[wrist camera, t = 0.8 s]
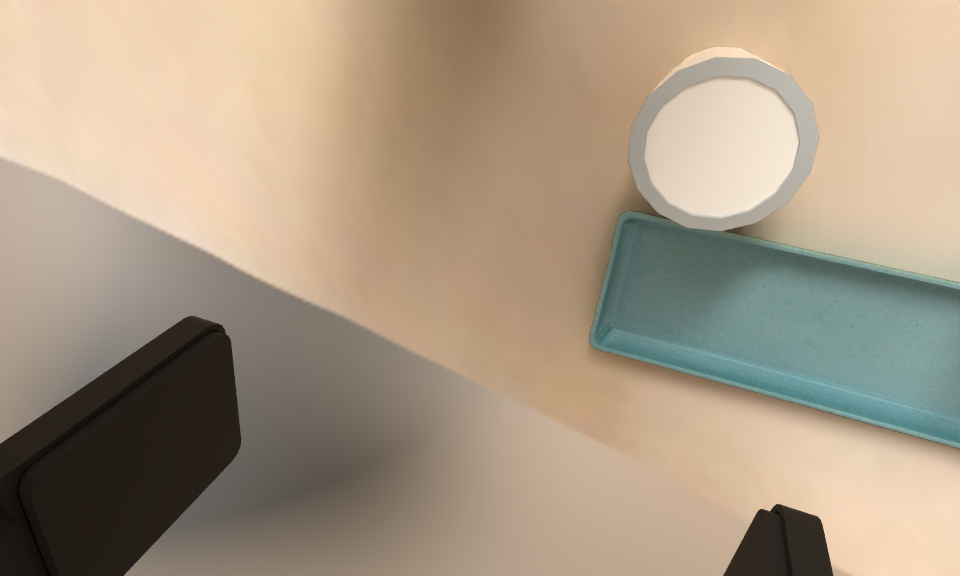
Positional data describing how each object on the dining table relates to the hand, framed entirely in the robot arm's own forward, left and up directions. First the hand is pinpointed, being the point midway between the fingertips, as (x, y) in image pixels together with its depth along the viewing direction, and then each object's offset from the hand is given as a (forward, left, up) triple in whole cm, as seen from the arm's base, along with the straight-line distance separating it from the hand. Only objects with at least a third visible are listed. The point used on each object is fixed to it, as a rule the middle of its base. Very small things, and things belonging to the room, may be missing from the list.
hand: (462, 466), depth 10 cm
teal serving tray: (+9, +14, -25) cm, 30 cm away
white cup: (-1, +4, -25) cm, 25 cm away
